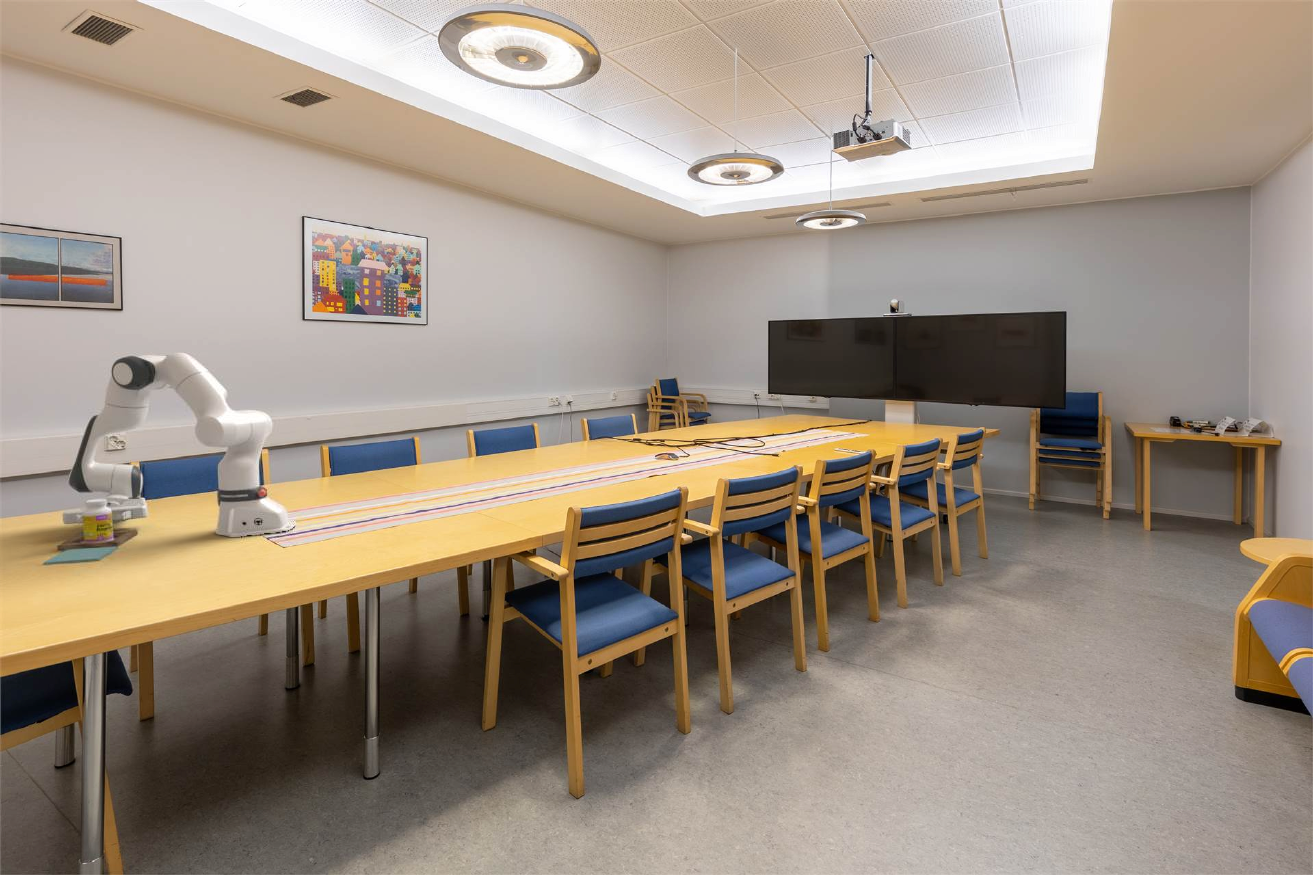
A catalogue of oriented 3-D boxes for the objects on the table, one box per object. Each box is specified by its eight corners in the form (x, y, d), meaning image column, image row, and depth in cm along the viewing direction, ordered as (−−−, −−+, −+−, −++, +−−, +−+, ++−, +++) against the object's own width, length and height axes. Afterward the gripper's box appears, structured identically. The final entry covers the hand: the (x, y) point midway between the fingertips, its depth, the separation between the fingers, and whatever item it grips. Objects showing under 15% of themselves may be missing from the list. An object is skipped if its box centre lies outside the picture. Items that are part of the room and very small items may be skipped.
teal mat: (118, 548, 185) (118, 546, 185) (98, 560, 174) (98, 558, 174) (67, 551, 181) (66, 549, 181) (43, 564, 170) (43, 562, 170)
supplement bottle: (96, 546, 187) (92, 503, 186) (78, 544, 188) (74, 502, 187) (119, 540, 194) (116, 498, 192) (102, 538, 195) (98, 497, 193)
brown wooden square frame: (137, 534, 200) (137, 529, 200) (117, 546, 187) (117, 541, 187) (82, 537, 195) (81, 533, 195) (57, 550, 182) (57, 545, 182)
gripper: (68, 503, 199) (54, 512, 188) (150, 497, 210) (142, 505, 198) (70, 522, 200) (56, 533, 188) (152, 515, 210) (143, 525, 198)
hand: (101, 518), depth 193 cm, fingers open, 8 cm apart
